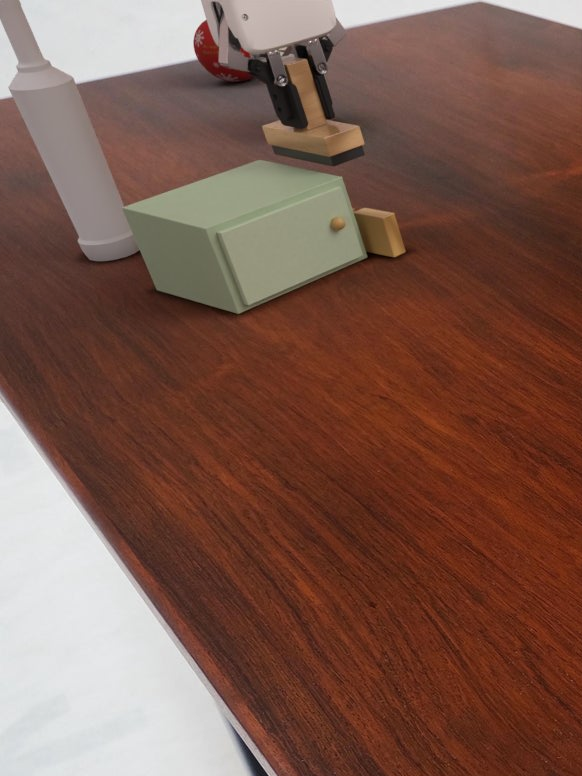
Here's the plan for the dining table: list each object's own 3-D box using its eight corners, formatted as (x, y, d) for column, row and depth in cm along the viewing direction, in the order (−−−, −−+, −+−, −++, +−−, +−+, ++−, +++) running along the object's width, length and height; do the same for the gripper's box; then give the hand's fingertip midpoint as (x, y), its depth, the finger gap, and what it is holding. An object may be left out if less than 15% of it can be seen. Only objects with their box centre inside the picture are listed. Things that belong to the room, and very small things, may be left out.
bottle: (156, 243, 129) (46, -22, 114) (115, 263, 125) (-4, -9, 110) (113, 240, 130) (-1, -23, 116) (72, 260, 126) (-51, -10, 112)
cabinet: (249, 317, 113) (216, 231, 109) (156, 290, 119) (121, 207, 114) (378, 260, 123) (353, 178, 119) (287, 237, 129) (259, 159, 124)
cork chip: (382, 218, 121) (394, 212, 122) (352, 212, 123) (364, 207, 124) (394, 257, 124) (406, 252, 125) (364, 251, 125) (376, 246, 126)
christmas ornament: (193, 88, 176) (164, 12, 170) (235, 71, 183) (209, -3, 177) (246, 90, 174) (220, 13, 169) (287, 72, 181) (263, -2, 176)
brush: (333, 167, 120) (302, 71, 115) (271, 154, 124) (238, 61, 119) (368, 154, 123) (339, 60, 118) (306, 142, 126) (276, 50, 121)
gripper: (291, -108, 118) (353, 94, 129) (125, -78, 107) (207, 141, 117) (346, -104, 115) (404, 103, 125) (180, -73, 104) (259, 152, 114)
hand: (308, 120), depth 121 cm, fingers closed on brush, 2 cm apart
